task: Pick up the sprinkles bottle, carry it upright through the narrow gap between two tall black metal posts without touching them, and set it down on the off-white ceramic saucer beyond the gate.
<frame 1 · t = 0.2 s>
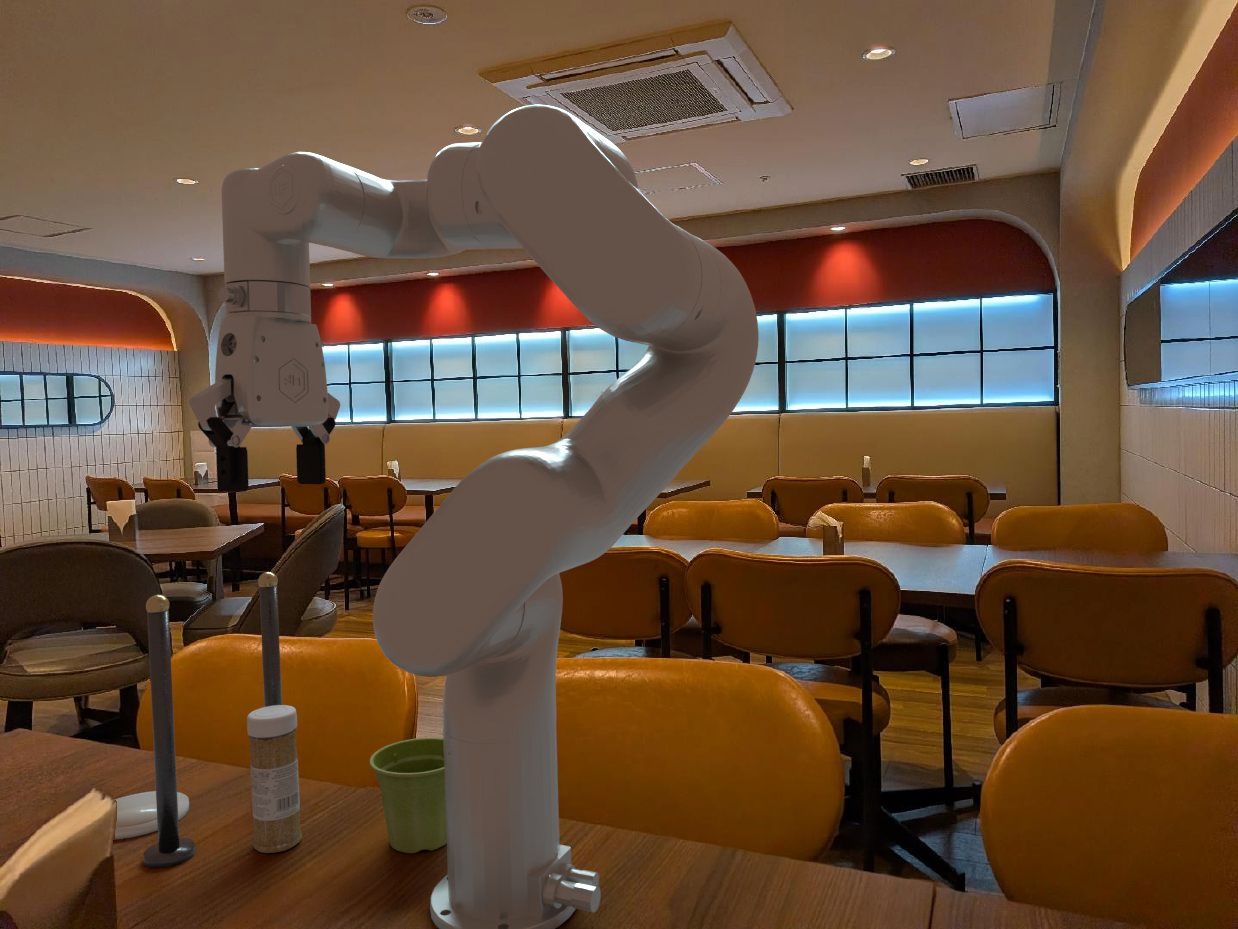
hand: (274, 487, 82), 36 cm above the table, tool pointing down, fingers open, 9 cm apart
gate: (227, 826, 90), on the table
saucer: (137, 817, 92), on the table
sprinkles bottle: (277, 846, 86), on the table
plant pot: (421, 842, 86), on the table
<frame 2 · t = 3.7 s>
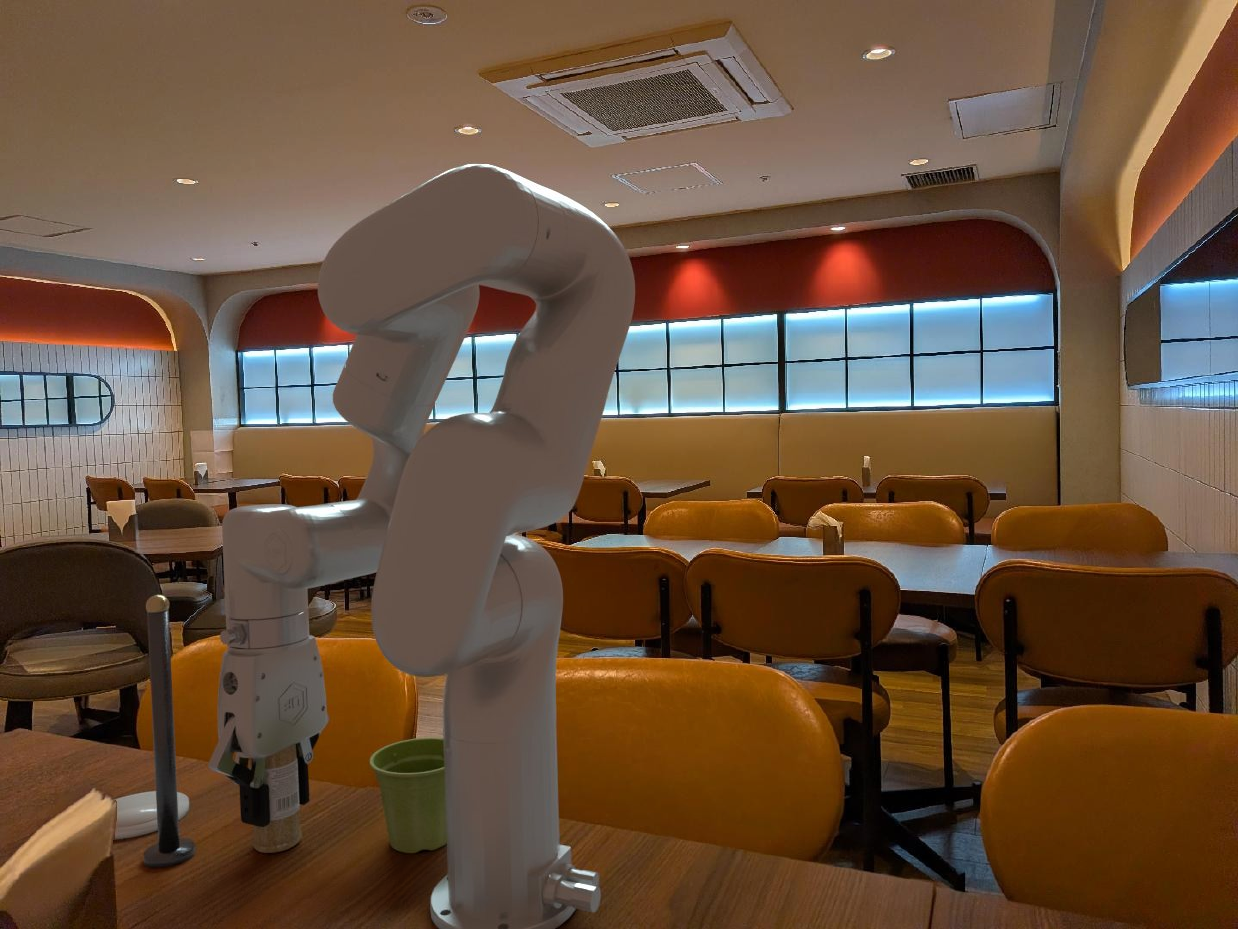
hand: (276, 810, 86), 3 cm above the table, tool pointing down, fingers closed on sprinkles bottle, 4 cm apart
sprinkles bottle: (277, 846, 86), on the table, touching gripper
everything else where it was.
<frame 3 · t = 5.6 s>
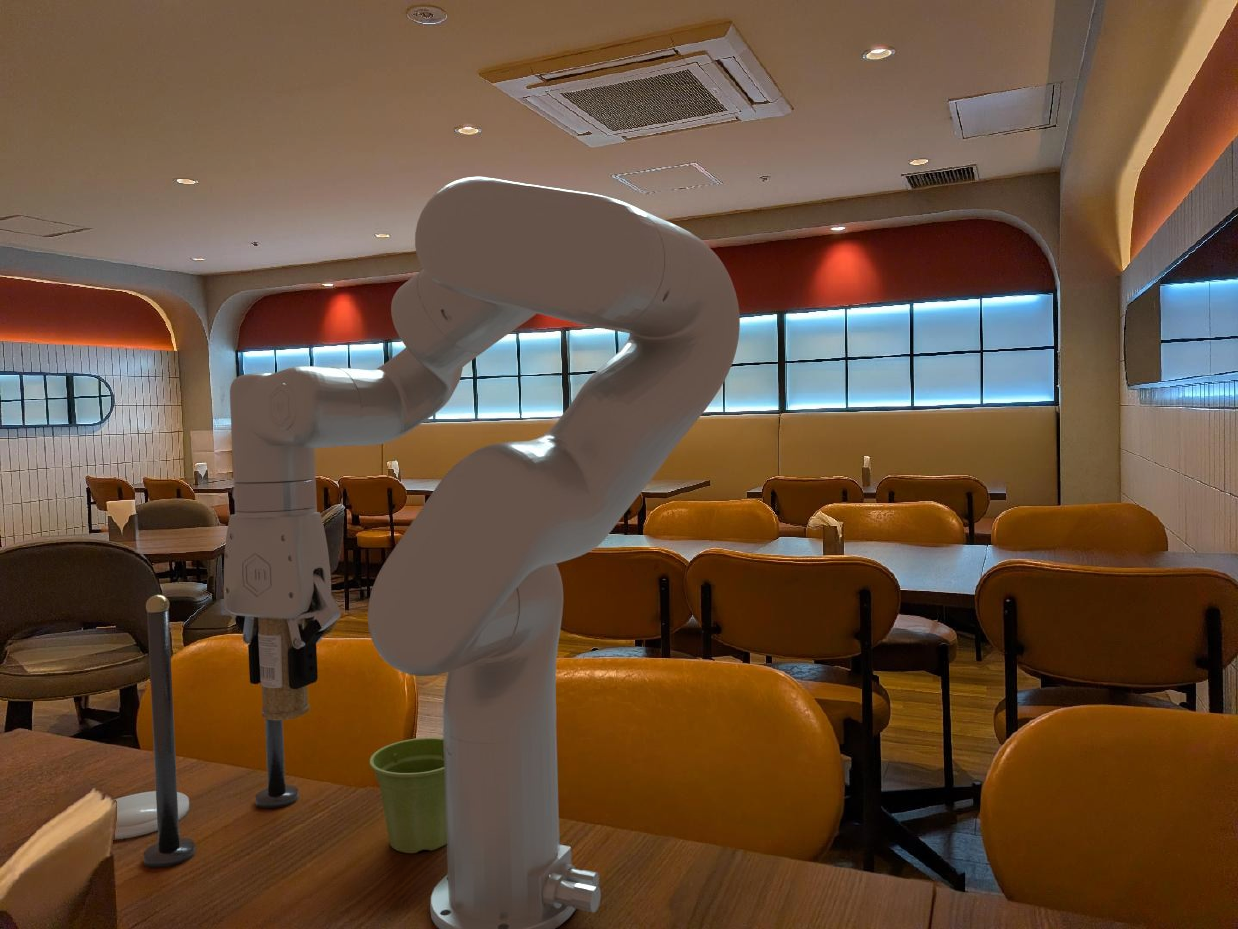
hand: (283, 681, 86), 16 cm above the table, tool pointing down, fingers closed on sprinkles bottle, 4 cm apart
sprinkles bottle: (285, 716, 86), point 13 cm above the table, touching gripper
everything else where it was.
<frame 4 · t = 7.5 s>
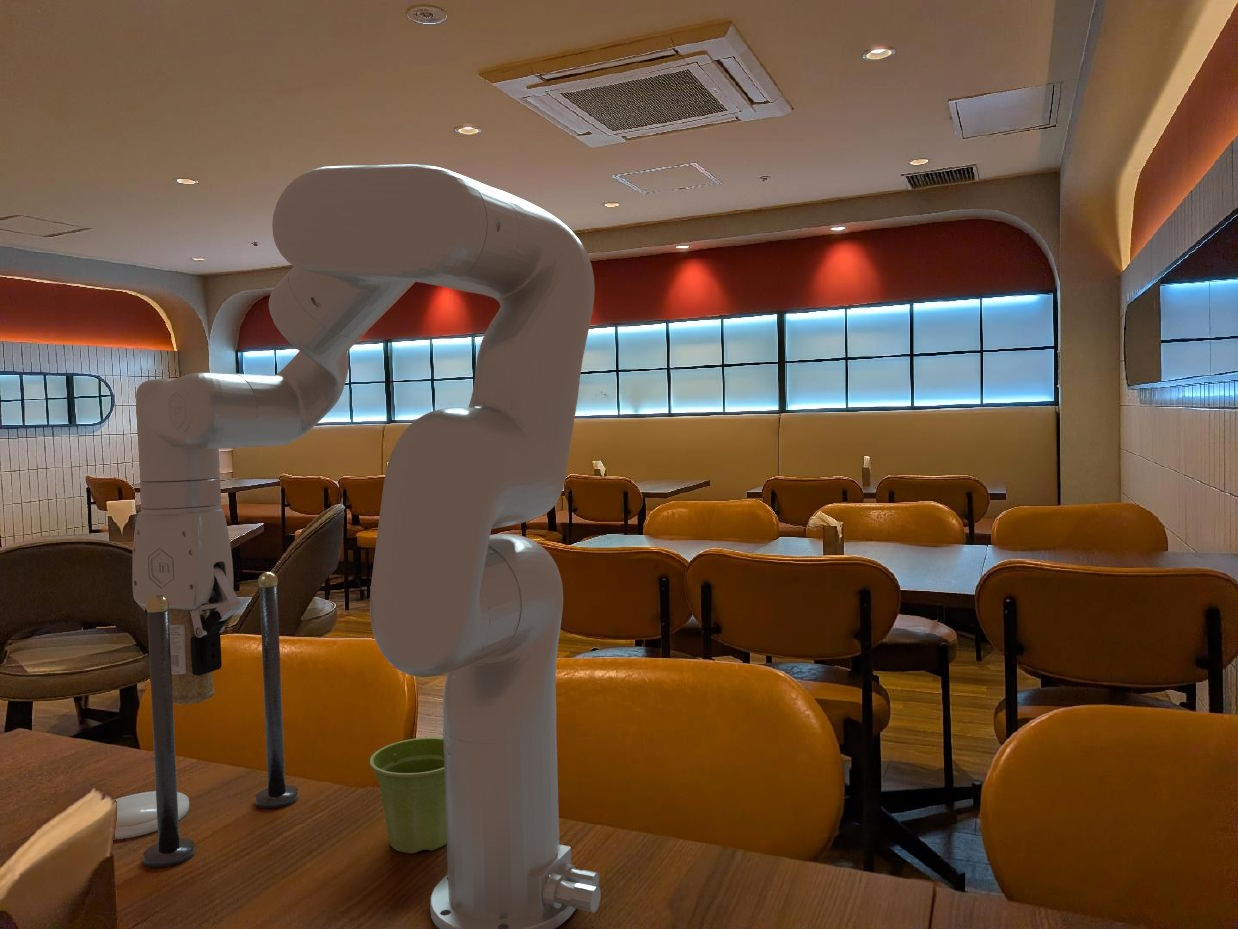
hand: (189, 668, 91), 16 cm above the table, tool pointing down, fingers closed on sprinkles bottle, 4 cm apart
sprinkles bottle: (191, 701, 91), point 13 cm above the table, touching gripper
everything else where it was.
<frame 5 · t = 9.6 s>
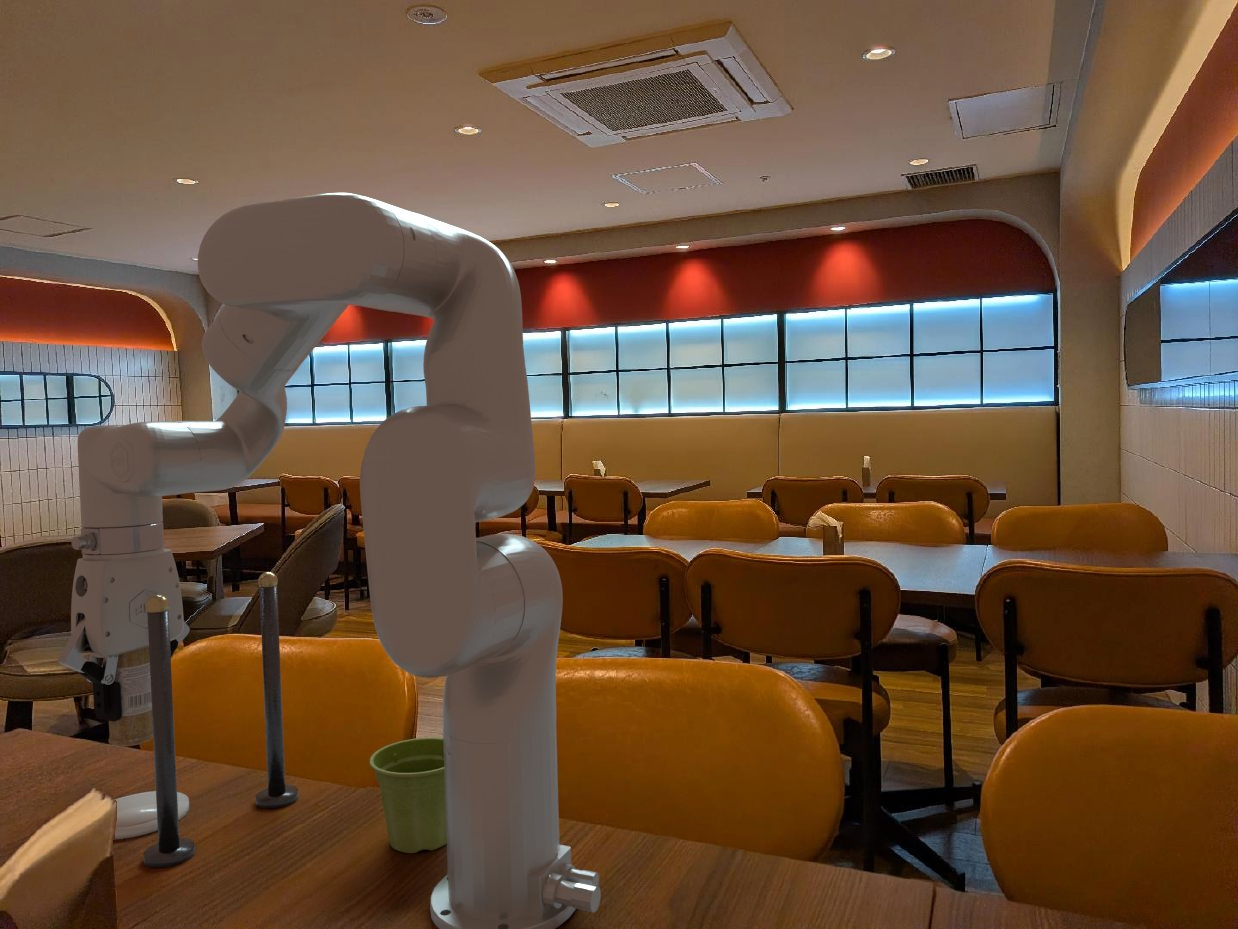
hand: (131, 709, 92), 12 cm above the table, tool pointing down, fingers closed on sprinkles bottle, 4 cm apart
sprinkles bottle: (132, 742, 92), point 8 cm above the table, touching gripper
everything else where it was.
when the fingers open (5 cm above the table, at t = 11.4 s): sprinkles bottle drops 1 cm, resting on saucer.
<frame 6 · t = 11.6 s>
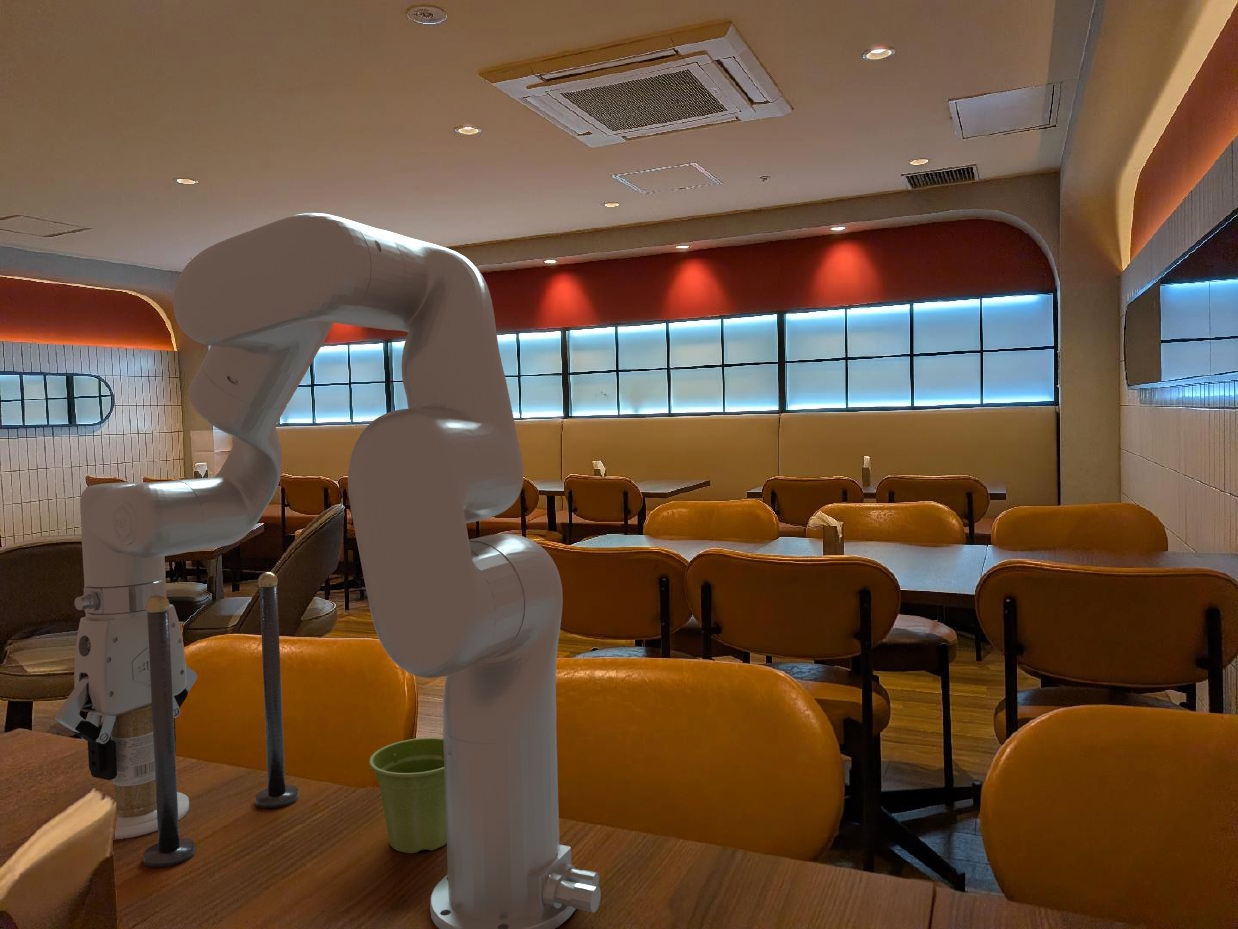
hand: (134, 763, 92), 6 cm above the table, tool pointing down, fingers open, 6 cm apart
sprinkles bottle: (137, 811, 92), point 1 cm above the table, touching saucer
everything else where it was.
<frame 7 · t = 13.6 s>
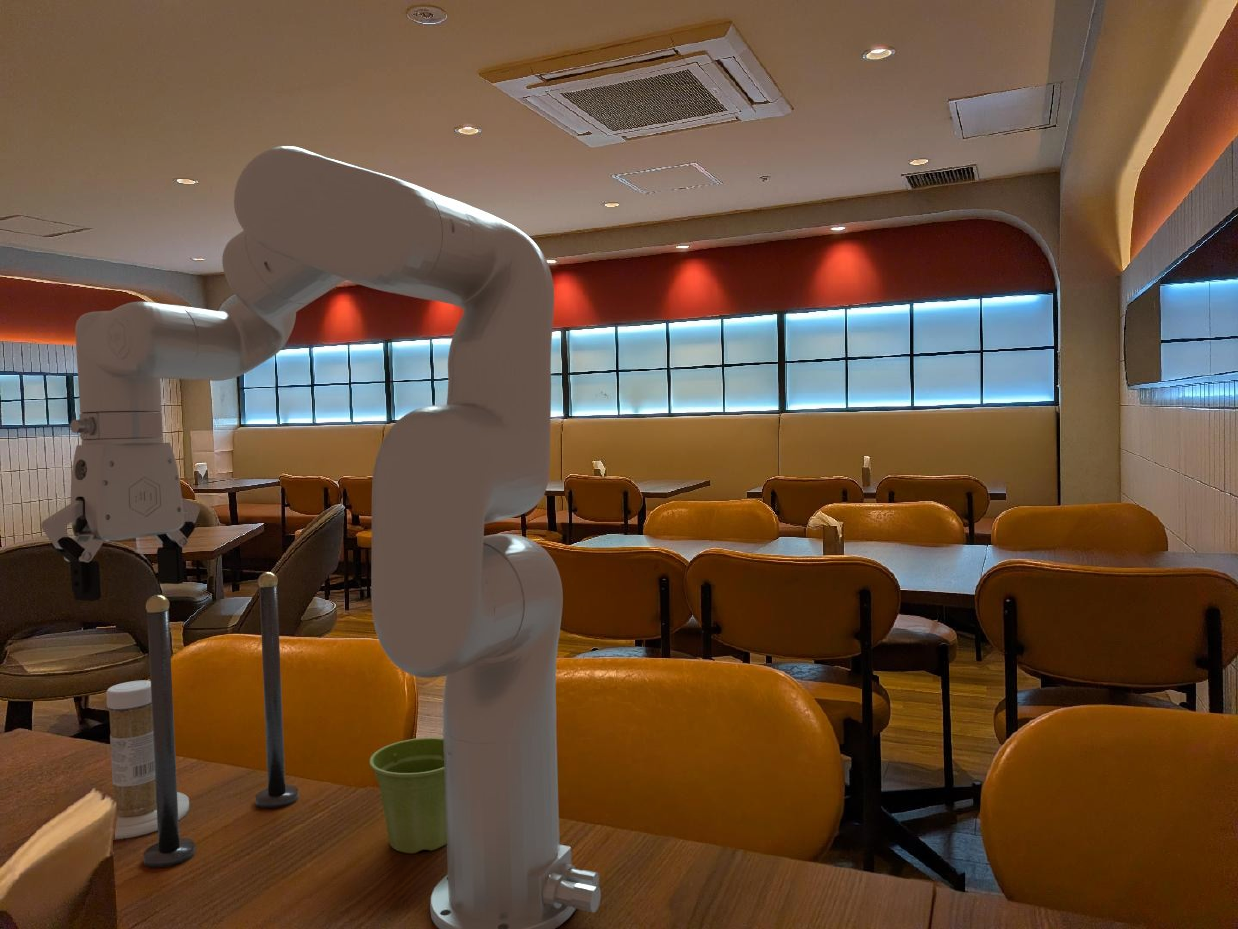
hand: (131, 591, 92), 24 cm above the table, tool pointing down, fingers open, 9 cm apart
nothing on the table moved.
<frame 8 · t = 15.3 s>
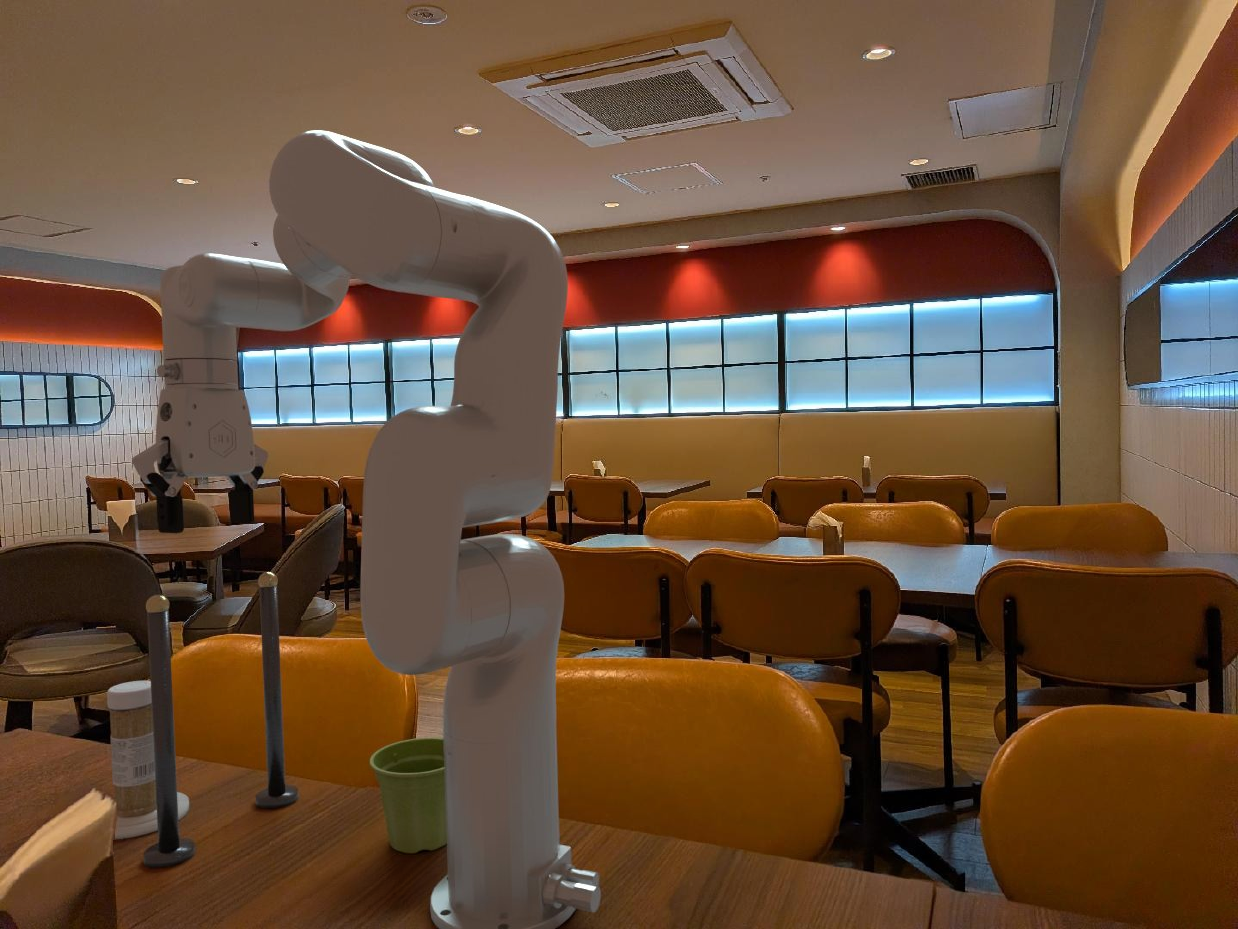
hand: (208, 527, 99), 30 cm above the table, tool pointing down, fingers open, 9 cm apart
nothing on the table moved.
at the end: sprinkles bottle inside the target area on the saucer (0.2 cm from its centre), point 0.8 cm above the saucer's base; sprinkles bottle tilted 0°; the gripper is holding nothing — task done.
